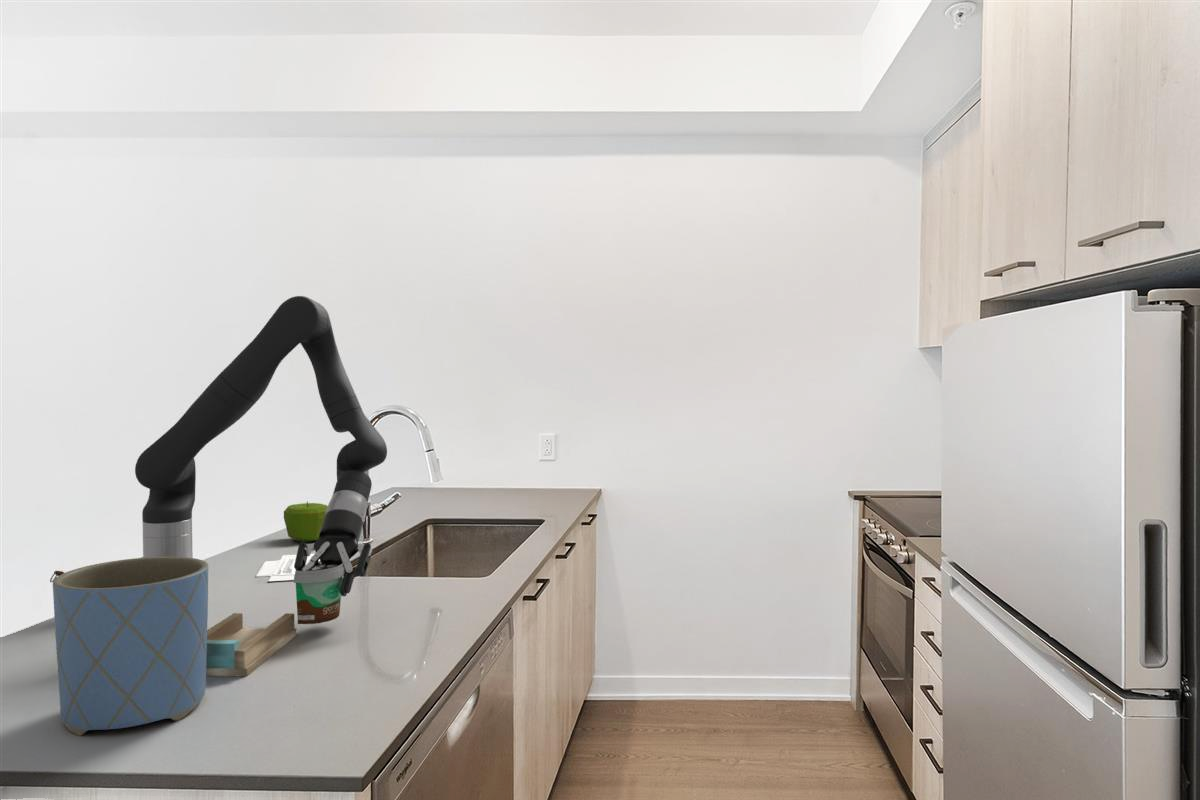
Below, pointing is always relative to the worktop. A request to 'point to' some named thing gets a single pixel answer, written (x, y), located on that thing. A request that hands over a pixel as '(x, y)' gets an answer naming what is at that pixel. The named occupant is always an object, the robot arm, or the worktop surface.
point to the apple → (304, 521)
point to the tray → (280, 568)
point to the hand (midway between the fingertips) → (323, 593)
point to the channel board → (244, 644)
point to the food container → (319, 593)
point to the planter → (131, 641)
